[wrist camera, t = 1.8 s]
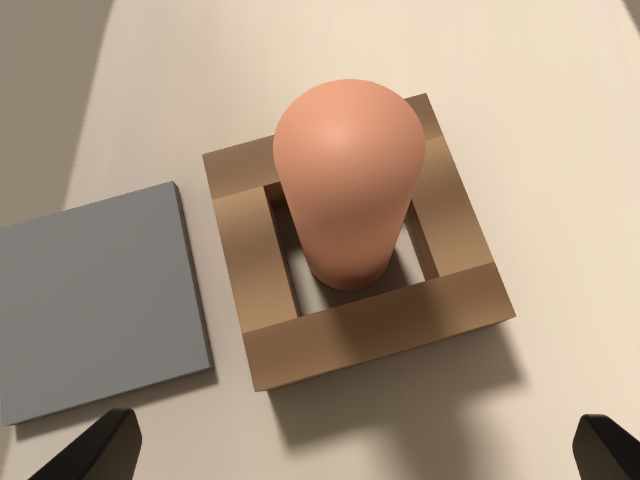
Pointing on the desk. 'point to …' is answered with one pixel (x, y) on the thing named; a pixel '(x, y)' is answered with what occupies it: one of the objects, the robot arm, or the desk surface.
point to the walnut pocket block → (366, 314)
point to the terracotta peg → (348, 176)
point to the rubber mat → (97, 304)
